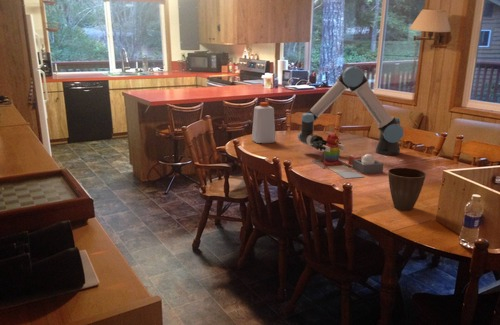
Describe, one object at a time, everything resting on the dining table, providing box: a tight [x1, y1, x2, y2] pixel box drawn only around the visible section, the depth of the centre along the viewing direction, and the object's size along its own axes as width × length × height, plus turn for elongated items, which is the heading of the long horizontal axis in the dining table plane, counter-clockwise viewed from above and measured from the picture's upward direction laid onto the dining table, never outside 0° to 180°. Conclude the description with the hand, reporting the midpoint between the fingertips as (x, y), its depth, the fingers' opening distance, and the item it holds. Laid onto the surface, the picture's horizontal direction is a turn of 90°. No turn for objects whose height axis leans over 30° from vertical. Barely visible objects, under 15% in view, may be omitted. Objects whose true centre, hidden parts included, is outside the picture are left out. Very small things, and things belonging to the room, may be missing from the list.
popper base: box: [351, 158, 384, 175], centre depth 238 cm, size 12×12×5 cm
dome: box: [361, 153, 376, 164], centre depth 237 cm, size 7×7×8 cm
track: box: [311, 158, 365, 179], centre depth 242 cm, size 17×37×1 cm, turn 15°
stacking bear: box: [322, 133, 343, 167], centre depth 249 cm, size 11×10×18 cm
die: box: [347, 154, 362, 166], centre depth 250 cm, size 5×5×6 cm
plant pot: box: [387, 167, 427, 212], centre depth 182 cm, size 15×15×16 cm
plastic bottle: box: [251, 101, 276, 144], centre depth 304 cm, size 15×15×28 cm
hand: (336, 149), depth 244 cm, fingers open, 9 cm apart
